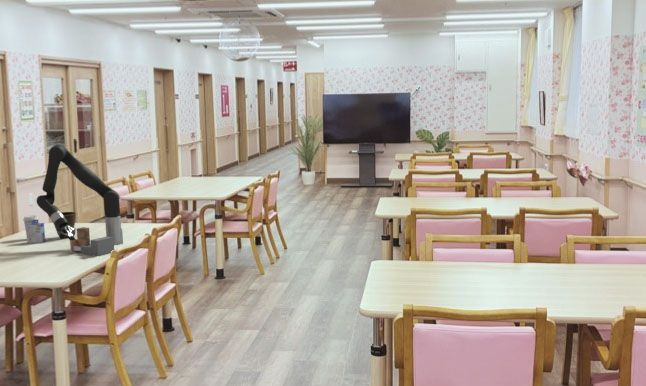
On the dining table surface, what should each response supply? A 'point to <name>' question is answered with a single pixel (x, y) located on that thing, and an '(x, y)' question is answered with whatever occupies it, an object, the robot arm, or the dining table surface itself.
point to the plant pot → (70, 218)
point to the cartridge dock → (99, 246)
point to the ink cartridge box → (35, 232)
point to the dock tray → (75, 245)
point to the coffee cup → (29, 220)
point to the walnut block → (83, 236)
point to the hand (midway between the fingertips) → (74, 242)
